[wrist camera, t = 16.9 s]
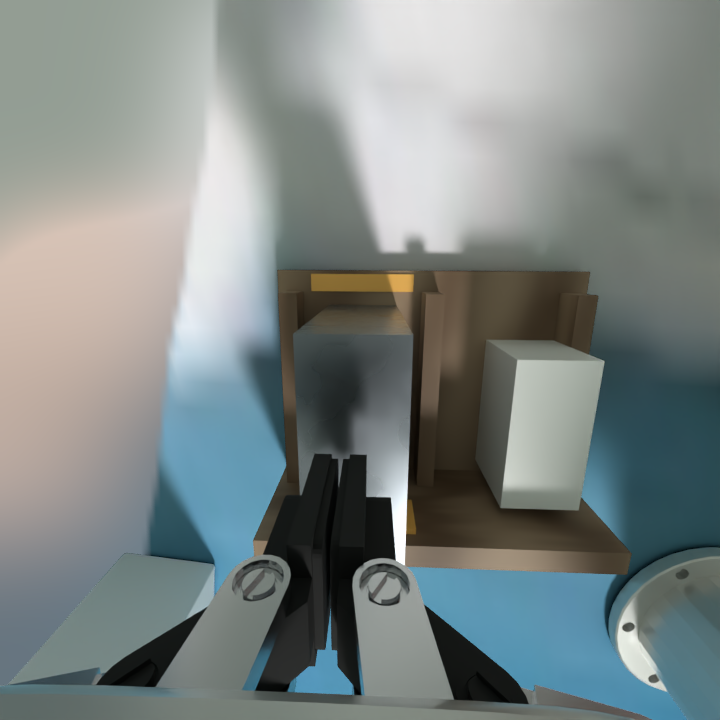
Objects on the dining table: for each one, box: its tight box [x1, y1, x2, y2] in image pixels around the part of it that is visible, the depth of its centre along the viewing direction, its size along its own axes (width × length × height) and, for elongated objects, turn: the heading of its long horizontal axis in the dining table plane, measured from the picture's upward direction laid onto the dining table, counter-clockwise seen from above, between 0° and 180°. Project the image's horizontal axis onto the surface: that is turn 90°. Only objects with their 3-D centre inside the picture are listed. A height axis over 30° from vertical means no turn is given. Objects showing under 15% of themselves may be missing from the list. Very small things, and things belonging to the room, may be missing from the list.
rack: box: [253, 270, 632, 575], centre depth 20 cm, size 18×14×8 cm
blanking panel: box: [293, 305, 413, 565], centre depth 18 cm, size 4×10×10 cm, turn 0°
